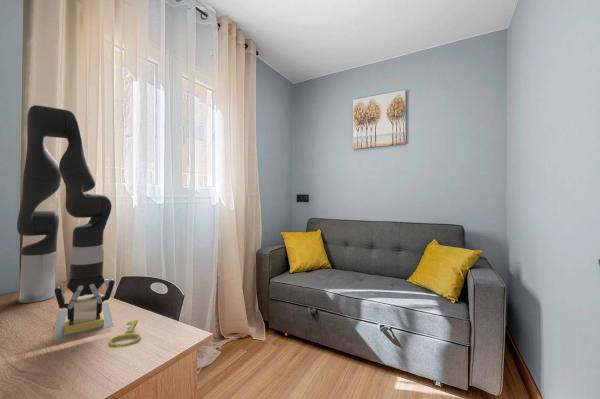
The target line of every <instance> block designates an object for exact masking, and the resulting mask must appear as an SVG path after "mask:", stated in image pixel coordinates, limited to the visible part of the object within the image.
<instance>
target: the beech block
mask: <svg viewBox="0 0 600 399" xmlns="http://www.w3.org/2000/svg"><path fill="white" fill-rule="evenodd" d="M96 310H97V298H95V297H94V295H93V294H92V295H84V296H80V297H78V299H77V301H76V302H74V323H73V325H74V324H78V323H83V322H88V321H92V320H96Z"/></svg>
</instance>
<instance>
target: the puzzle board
mask: <svg viewBox="0 0 600 399" xmlns="http://www.w3.org/2000/svg"><path fill="white" fill-rule="evenodd" d="M67 318H68V309H67V310H62V311H58V312H57V318H56V321H55V327H54V330H53V336H52V340H51V341H52V342H53V341H58V340H62V339H66V338H70V337H74V336H80V335H83V334H87V333H91V332H95V331H98V330H99V331H100V330H105V329H108V328H112V327H114V322H113V318H112V312H111V309H110V305H109V302H103V303H102V312H101V313H100V314H99V316H96V320H92V321H88V322H83V323H78V324H74V325H73V323H74V321H71V320H68V319H67Z"/></svg>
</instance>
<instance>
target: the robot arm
mask: <svg viewBox="0 0 600 399" xmlns="http://www.w3.org/2000/svg"><path fill="white" fill-rule="evenodd" d="M26 118H27V119H26V120H27V122H26V137H27V138H26V140H27V141H26V144H27V145H26V155H25V162H24V163H25V164H24V170H23V176H22V191H21V192H22V193H21V194H22V196H21V203H20V207H19V211H18V217H17V223H16V230H17V234H19V235H20V236H23V237H24V236H25V237H29V236H30V237H32V236H34V237H35V236H44V238H42V239H41V240H38V241H36V242H33V243H30V244H27V245H25V246H23V247H22V249H21V261H20V262H21V263H20V265H21V266H20V267H21V268H20V283H19V299H18V301H19V303H21V304H23V303H24V304H29V303H38V302H43V301H47V300H49V299H51V298H53V297H54V296H55V297H56V303H57V305H58V308H59V309H67V310H68V318H67V319H68V320H71V321H74V302H76V301H77V299H78V297H84V296H90V295H94V297H95V298H97V310H96V316H99V314H100V313H101V312H102V304H104V302H106V301H109V300H110V297H111V294H112V292H113V288H114V285H115V283H116V282H115V279H114V278H110V279H108V278H107V279H106V278H104V276H103V275H104V274H103V273H104V259H105V257H104V256H105V255H104V231H105V229H106V225H107V222H108V220H109V217H110V215H111V213H112V212H111V211H112V201H111V199H110V198H109V196H107V195H105V194H98V193H97V194H96V193H94V194H93V193H86V192H89V191H92V190H93V189H95V186H96V180H95V178H94V175H93V174H92V171H91V169H90V166H89V164H88V160H87V157H86V153H85V147H84V143H83V142H84V141H83V138H82V133H81V129H80V125H79V121H78V119H77V117H76V115H75V114H74V112H72V111H70V110H67V109H63V108H57V107H50V106H46V105H45V106H44V105H37V104H36V105H32V106H30V107H29V109H28V112H27V117H26ZM46 137H49V138H57V139H59V138H60V139H66V140H67V142H68V145H67V148H66V150H65V152H64V153H63V155H62V156H61V158H60V160H59V162H58V161H57V160H56V159H55V158H54V156H53V155H51V153H50V152H49V150H48V148H47V147H46V144H45V138H46ZM62 180H63V184H64V185H65V210H66V212H67V213H68V214H69V215H70V216H71V217H73V218H78V219H79V218H80V219H83V218H89V220H88V222H87V223H85V224H82V225H78V226H76V227H74V228H73V232H72V247H71V252H70V258H69V261H70V262H69V264H70V265H69V279H68V282H67V284H65V285H64V284H63V285H57V286H56V273H57V272H56V269H57V268H56V267H57V251H58V250H57V248H58V246H57V245H58V235H59V234H58V233H59V225H60V224H59V223H60V217H59V216H60V215H59V214H58V212H57V211H53V210H36V209H37V208H38V206H39V205H40V204H41V203H43V202H44V201H46V200H47V199H48V198H49V197H52V196H53V195H54V194H55V193H56V192H57V191H58V190H59V189H60V187H61V184H62V183H61V182H62ZM102 285H105V287H106V289H105V293H104V295H103V296H101V294H100V291H99V289H100V288H101V287H102ZM67 289H68V290H69V291H70V292H72V296H71V297H70V300H69V301H66V300H65V295H64V294H65V293H66V290H67Z"/></svg>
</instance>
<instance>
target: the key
mask: <svg viewBox="0 0 600 399" xmlns="http://www.w3.org/2000/svg"><path fill="white" fill-rule="evenodd" d="M137 324H138V319H134V320H132V321H130V320H129V321H127V323H126V325H130V326H129V328H128V330H126V331H125V333H123V334H119V335H115V336H113V337H111V338H110V339H109V341H108V346H109V347H111V346H113V347H112V348H118V347H117V346H122V347H128V346H131V345H133V344H136V343H139V342H140V341H141V340H142V339H141V338H142V337H141V335H140V334H139V333H136V332H135V333H134V332H133V331H134V330H135V327H136V326H137ZM124 338H125V339H133V340H130V341H128V342H123V343H116V341H119V340H123V339H124ZM139 340H140V341H139Z"/></svg>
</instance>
